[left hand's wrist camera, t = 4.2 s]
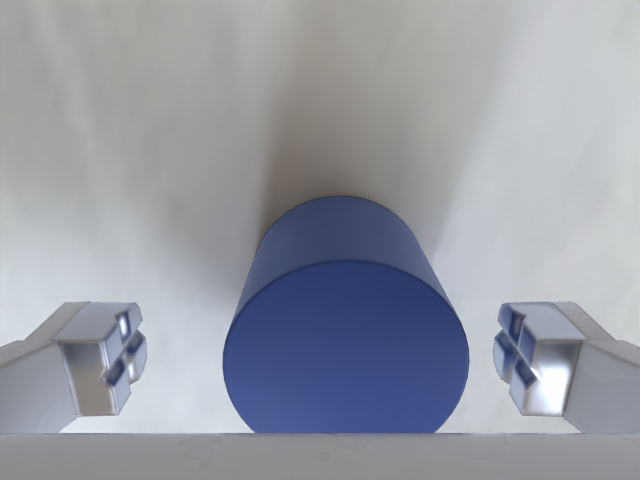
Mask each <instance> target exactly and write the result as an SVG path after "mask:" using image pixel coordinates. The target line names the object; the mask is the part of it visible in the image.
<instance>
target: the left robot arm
mask: <svg viewBox="0 0 640 480" xmlns="http://www.w3.org/2000/svg"><path fill="white" fill-rule="evenodd" d="M141 322H142V315H141V310H140V307H139V306H138V305H137V303H125V302H90V301H86V302H66V303H64V304H63V305H62V306H61V307H59V308H58V309H57V310H56V311H55V312H54V313H53V314H52V315H51V316H50V317H49V318H48V319H47V320H46V321H44V322H43V323H42V324H41V325H40V326H39V327H38V328H37V329H36V330H35V331H34V332H33V333H32V334H30V335H29V336H28V337H27V338H26V339H25V340H24V341H14V342H12V343H9V344H7V345H5V346H2V347H0V480H640V347H638V346H635V345H633V344H631V343H628V342H626V341H616V340H615V339H614V338H613V337H612V336H611V335H610V334H609V333H607V332H606V331H605V330H604V329H603V328H602V327H601V326H600V325H599V324H598V323H597V322H596V321H595V320H594V319H592V318H591V317H590V316H589V315H588V314H587V313H586V312H585V311H584V310H583V309H582V308H581V307H580V306H578V305H577V304H576V303H574V302H571V301H565V302H523V303H504V304H502V306H501V308H500V310H499V315H498V322H499V323H500V325H501V327H502V328H503V329H502V330H501V331H500V332H499V334H498V335H497V336H496V337H495V339H494V346H493V356H494V364H495V367H496V370H497V373H498V375H499V376H500V378H501V379H502V380H503V381H505V382H506V383H508V384H510V390H509V394H510V396H511V397H512V399H513V401H514V403H515V404H516V406H517V408H518V410H519V411H520V413H521V415H525V416H562V417H564V419H565V420H566V421H568V422H569V423H570V424H572V425H573V426H574V427H576V428H577V429H578V430H580V431H581V432H582V433H58V432H59V431H60V430H62V429H63V428H64V427H66V426H67V425H68V424H70V423H71V422H72V421H74V420H75V419H76V417H78V416H114V415H119V413H120V411H121V410H122V408H123V406H124V404H125V403H126V401H127V399H128V397H129V396H130V394H131V390H130V384H132V383H134V382H135V381H137V380H138V379H139V378H140V376H141V374H142V373H143V371H144V367H145V363H146V359H147V345H146V338H145V337H144V336H143V335H142V334H141V332H140V331H139V330H138V329H137V328H138V327H139V325H140V323H141Z"/></svg>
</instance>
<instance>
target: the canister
mask: <svg viewBox="0 0 640 480" xmlns="http://www.w3.org/2000/svg"><path fill="white" fill-rule="evenodd" d="M468 370H469V348H468V343H467V338H466V334H465V332H464V329H463V326H462V324H461V321H460V320H459V318H458V316H457V314H456V312H455V310H454V308H453V307H452V305H451V303H450V301H449V299H448V297H447V295H446V294H445V292H444V290H443V288H442V286H441V284H440V282H439V281H438V279H437V277H436V275H435V273H434V271H433V269H432V268H431V266H430V264H429V262H428V260H427V258H426V256H425V255H424V253H423V251H422V249H421V247H420V245H419V243H418V242H417V240H416V238H415V236H414V235H413V233H412V231H411V230H410V229H409V228H408V226H407V225H406V224H405V223H404V222H403V221H402V220H401V219H400V218H399V217H398V216H397V215H395V214H394V213H392V212H391V211H390V210H388V209H386V208H384V207H383V206H381V205H379V204H377V203H374V202H371V201H369V200H365V199H361V198H357V197H349V196H330V197H323V198H318V199H315V200H311V201H308V202H305V203H303V204H301V205H298V206H296V207H295V208H293V209H291V210H290V211H288V212H287V213H285V214H284V215H283V216H282V217H280V218H279V219H278V220H277V221H276V222H275V223H274V224H273V225H272V226H271V227H270V228H269V230H268V231H267V233H266V234H265V235H264V237H263V239H262V241H261V243H260V244H259V247H258V250H257V252H256V255H255V258H254V261H253V264H252V266H251V269H250V272H249V275H248V278H247V281H246V283H245V286H244V289H243V292H242V295H241V298H240V300H239V303H238V306H237V309H236V312H235V315H234V317H233V320H232V323H231V326H230V329H229V332H228V334H227V337H226V340H225V345H224V351H223V375H224V381H225V385H226V388H227V392H228V395H229V397H230V399H231V401H232V403H233V406H234V407H235V409H236V410H237V412H238V414H239V415H240V417H241V418H242V419H243V420H244V422H245V423H246V424H247V425H248V426H249V427H250V428H251V429H252V430H253V431H254V432H255V433H434V432H436V431H437V430H438V429H439V428H440V427H441V426H442V425H443V424H444V423H445V421H446V420H447V419H448V418H449V416H450V415H451V414H452V412H453V411H454V409H455V408H456V406H457V404H458V403H459V401H460V398H461V396H462V394H463V391H464V389H465V385H466V381H467V377H468Z"/></svg>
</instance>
